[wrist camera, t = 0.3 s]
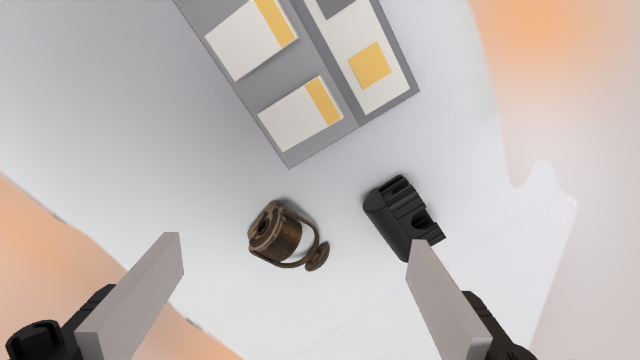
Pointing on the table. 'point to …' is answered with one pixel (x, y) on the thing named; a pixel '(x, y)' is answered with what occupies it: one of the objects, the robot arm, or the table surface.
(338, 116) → the rocker
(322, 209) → the table surface
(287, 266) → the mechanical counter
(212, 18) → the switch unit
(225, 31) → the rocker middle
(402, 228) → the end cap
